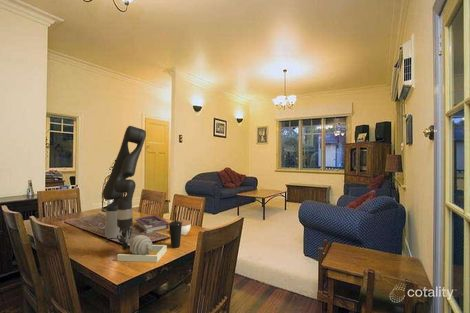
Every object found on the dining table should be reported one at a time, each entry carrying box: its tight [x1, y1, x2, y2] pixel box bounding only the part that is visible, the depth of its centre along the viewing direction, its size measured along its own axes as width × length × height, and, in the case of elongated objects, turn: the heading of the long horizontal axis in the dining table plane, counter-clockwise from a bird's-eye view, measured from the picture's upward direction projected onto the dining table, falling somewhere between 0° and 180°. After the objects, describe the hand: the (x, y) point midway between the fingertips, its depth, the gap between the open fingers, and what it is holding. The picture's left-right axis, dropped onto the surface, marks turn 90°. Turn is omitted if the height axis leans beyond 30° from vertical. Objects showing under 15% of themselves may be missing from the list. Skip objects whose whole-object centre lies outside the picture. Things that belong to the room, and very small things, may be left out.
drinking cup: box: [169, 211, 182, 249], centre depth 145 cm, size 8×8×20 cm
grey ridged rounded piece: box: [129, 234, 153, 255], centre depth 131 cm, size 11×17×11 cm, turn 55°
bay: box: [116, 244, 168, 263], centre depth 133 cm, size 20×14×3 cm
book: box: [134, 214, 170, 234], centre depth 183 cm, size 25×16×5 cm, turn 38°
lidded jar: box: [177, 218, 192, 236], centre depth 168 cm, size 11×11×9 cm
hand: (125, 249), depth 134 cm, fingers closed
